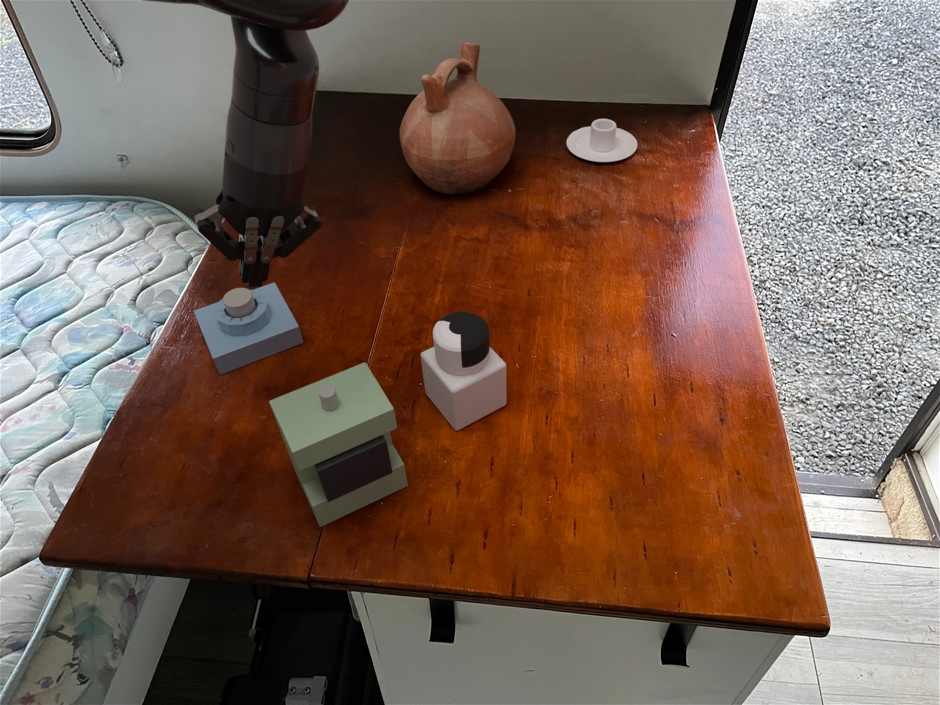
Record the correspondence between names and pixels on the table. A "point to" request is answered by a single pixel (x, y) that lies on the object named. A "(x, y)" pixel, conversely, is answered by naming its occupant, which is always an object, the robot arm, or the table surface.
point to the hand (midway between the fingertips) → (252, 281)
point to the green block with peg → (338, 435)
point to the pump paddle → (354, 468)
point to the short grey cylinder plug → (239, 302)
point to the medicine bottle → (463, 370)
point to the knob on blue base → (249, 330)
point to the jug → (457, 128)
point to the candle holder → (602, 142)
